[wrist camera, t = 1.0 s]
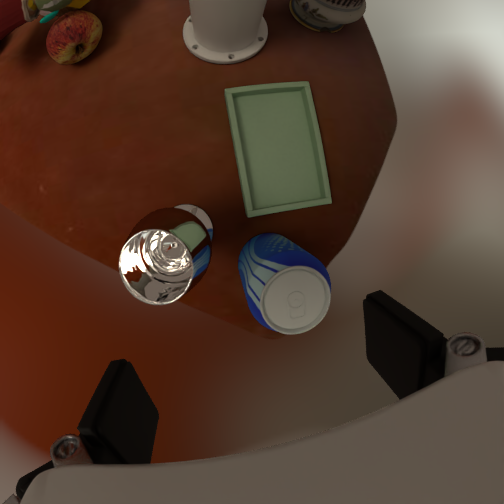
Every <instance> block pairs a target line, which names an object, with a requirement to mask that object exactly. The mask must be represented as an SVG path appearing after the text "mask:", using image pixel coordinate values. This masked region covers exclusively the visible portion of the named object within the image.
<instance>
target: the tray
mask: <svg viewBox="0 0 504 504" xmlns="http://www.w3.org/2000/svg"><path fill="white" fill-rule="evenodd" d="M309 86H310V85H309V82H308V81H305V82H285V83H272V84H261V85H251V86H243V87H235V88H228V89H225V101H226V106H227V112H228V117H229V123H230V128H231V134H232V140H233V145H234V151H235V156H236V162H237V167H238V173H239V179H240V184H241V190H242V195H243V201H244V206H245V212H246V216H247V217H248V218H249V217H254V216H260V215H265V214H271V213H276V212H282V211H288V210H294V209H299V208H305V207H311V206H317V205H324V204H330V203H332V200H331V193H330V187H329V181H328V174H327V168H326V163H325V157H324V152H323V146H322V141H321V136H320V131H319V126H318V121H317V116H316V112H315V107H314V103H313V98H312V94H311V90H310V87H309Z"/></svg>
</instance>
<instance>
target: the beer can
mask: <svg viewBox="0 0 504 504" xmlns="http://www.w3.org/2000/svg"><path fill="white" fill-rule="evenodd" d="M238 269H239V273H240V277H241V280H242V284H243V288H244V291H245V295H246V299H247V302H248V306H249V309H250V311H251V313H252V314H253V316H254V317H255V319H256V320H257V321H258V322H259V323H260V324H262V325H263V326H265V327H266V328H268V329H271V330H273V331H277V332H280V333H284V334H299V333H303V332H306V331H308V330H310V329H312V328H313V327H315V326H316V325H317V324H318V323H319V322H320V321H321V320H322V319H323V318H324V316H325V315H326V313H327V311H328V308H329V305H330V299H331V282H330V277H329V274H328V272H327V270H326V268H325V267H324V265H323V264H322V263H321V262H320V261H319V260H318V259H317V258H316V257H314V256H313V255H311V254H310V253H308V252H307V251H305V250H304V249H302V248H301V247H299V246H298V245H296V244H295V243H293V242H292V241H290V240H288V239H287V238H285V237H284V236H282V235H279V234H275V233H264V234H260V235H257V236H255V237H253V238H252V239H251V240H249V241H248V242H247V243H246V244H245V246H244V247H243V249H242V250H241V252H240V255H239V260H238Z"/></svg>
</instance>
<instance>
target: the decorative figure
mask: <svg viewBox="0 0 504 504" xmlns="http://www.w3.org/2000/svg"><path fill="white" fill-rule="evenodd" d="M89 1H90V0H0V41H1V40H2V39H3V38H4V37H5V36H7V35H8V34H9V33H10V32H11V31H13V30H14V29H15V28H17V27H19V26H21V25H23V24H24V23H26V22H31V21H33V20H34V19H37V17H38V16H39V13H40V10H43V11H53V12H51V13H50V14H48V15H46V16H45V17H44V18H42V19H41V20H40V23H46V22H48V21H49V20H51V19H53V18H54V17H55V16H56V15H57V14H58V12H59V10H60V9H62V8H64V7H67V6H69V7H74V8H79V9H80V8H81V7H83V6H84V5H85V4H86V3H88V2H89ZM56 10H57V11H56Z"/></svg>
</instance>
